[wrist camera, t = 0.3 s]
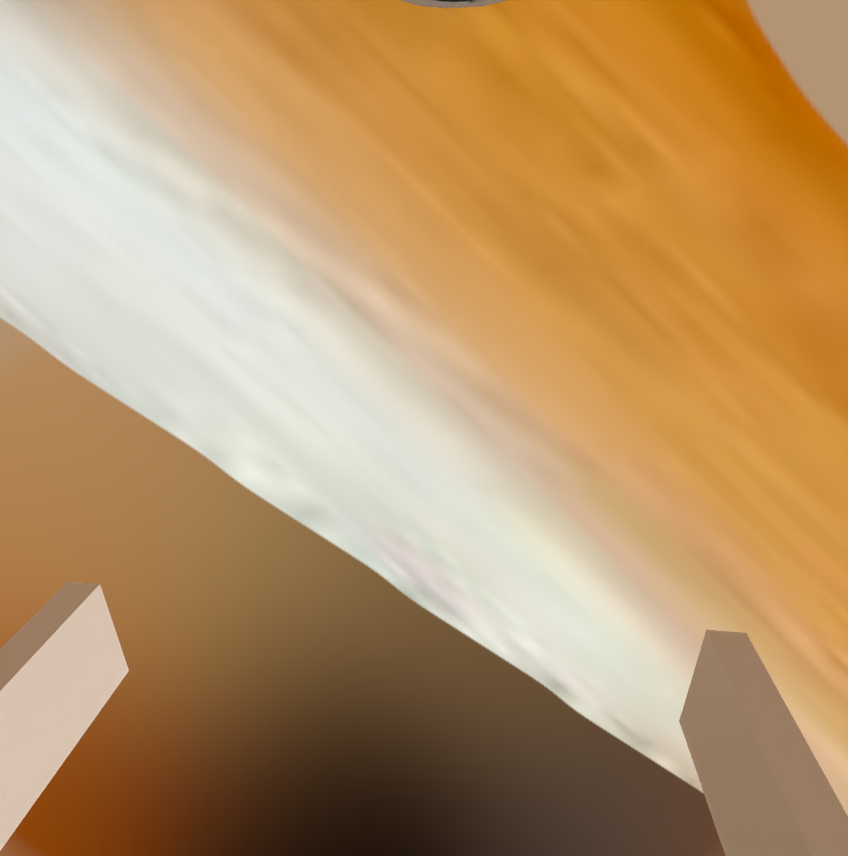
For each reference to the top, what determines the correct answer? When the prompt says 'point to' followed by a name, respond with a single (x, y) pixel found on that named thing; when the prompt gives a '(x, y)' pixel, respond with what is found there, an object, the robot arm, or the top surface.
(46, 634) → the robot arm
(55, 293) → the top surface
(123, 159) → the top surface
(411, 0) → the pocket watch
